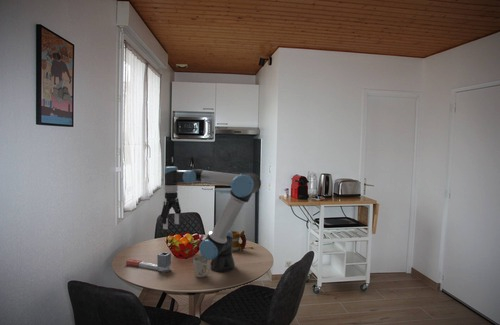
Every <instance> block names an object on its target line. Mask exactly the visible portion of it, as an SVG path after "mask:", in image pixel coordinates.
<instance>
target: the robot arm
mask: <svg viewBox="0 0 500 325" xmlns="http://www.w3.org/2000/svg"><path fill="white" fill-rule="evenodd" d="M195 182H198V183H199V182H200V183H207V184H215V185H221V186H229V187H230V191H229V194H230V197H229V199H228V201H227V203H226V204H225V206H224V208H223V210H222V212H221V214H220V216H219V218H218V220H217V221H216V224H215V226H214V228H213V229H212V230H210V231H209V232H208V234H207V235H206V237H205V239H203V240H202V241H201V242H200V243H199V248H198V249H199V250H198V251H199V253H200V256H203V257H204V258H205V259H208V260H207V261H210V260H211V261H210V266H209V268H210V270H211V271H214V272H217V273H218V272H219V273H221V272H230V271H233V270H234V269H235V266H236V263H235V260H234V257H233V252H232V242H233V235H232V232H231V231H232V230H231V229H232V227H233V225H235V224H234V223H235V221H236V219H237V218H238V216H239V214H240V213H241V210H242V209H243V206H244V205H245V204H246V203H248V202H249V201H250V199H251V197H252V195H253V194H255V193H257V192H258V191H259V190H260V189H261V187H262V181H261V178H260V177H259V175H257V174H256V173H245V172H241V173H240V174H239V173H229V172H223V171H222V172H220V171H212V170H204V169H202V168H201V169H200V168H197V169H196V168H195V169H188V170H187V169H186V170H182V169H181V170H180V169H178V167H177V166H165V168H164V192H165V193H164V199H166V201H163V203H162V205H163V206H162V209H161V213H160V218H161V219H162V229H163V230H169V229H168V227H169V218H168V215H169V213H170V210H171V209H173V212H175V213H174V225H180V214H181V213H182V210H181V206H180V205H181V204H180V201H179V198H178V196H179V195H178V190H179V189H178V184H179V183H180V184H181V183H182V184H193V183H195Z"/></svg>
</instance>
